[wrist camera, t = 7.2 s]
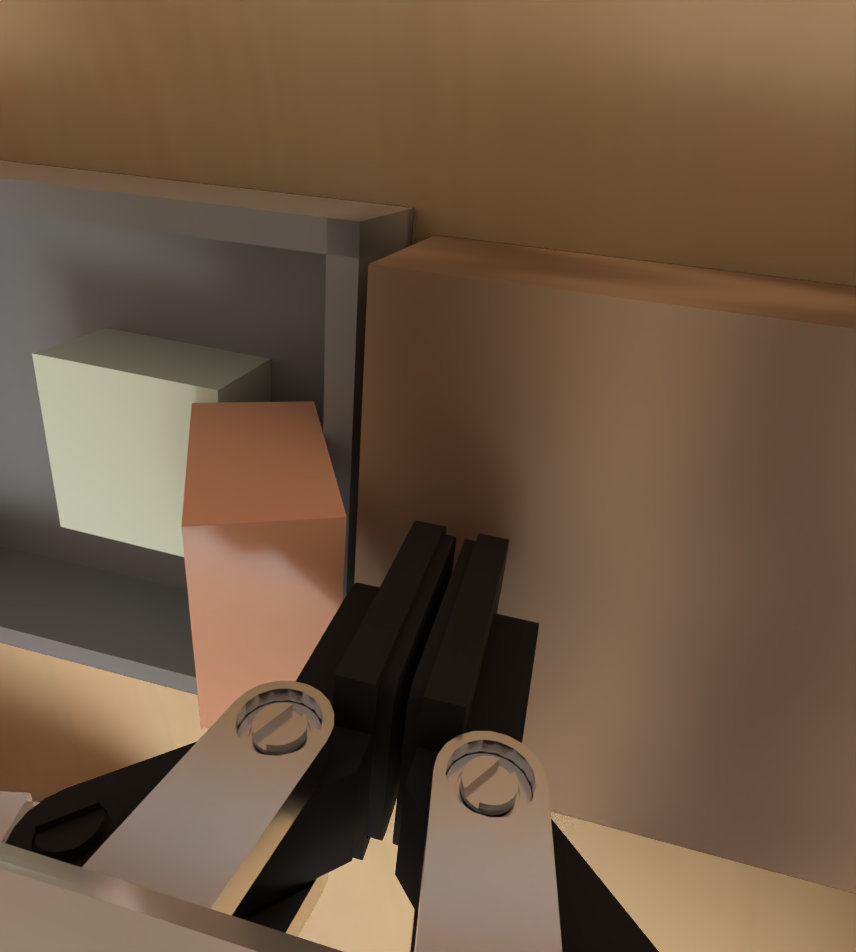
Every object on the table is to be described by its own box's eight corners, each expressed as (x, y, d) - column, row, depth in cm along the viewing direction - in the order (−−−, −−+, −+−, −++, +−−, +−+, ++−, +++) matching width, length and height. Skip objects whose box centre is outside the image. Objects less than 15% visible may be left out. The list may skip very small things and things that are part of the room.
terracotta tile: (346, 516, 11) (181, 527, 10) (336, 709, 13) (201, 728, 12) (314, 401, 14) (191, 402, 14) (310, 566, 17) (205, 574, 16)
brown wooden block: (1327, 344, 12) (1697, 440, 8) (1020, 778, 16) (1149, 973, 13) (434, 235, 14) (368, 263, 10) (400, 634, 19) (346, 756, 15)
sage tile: (31, 353, 15) (106, 327, 17) (60, 526, 17) (124, 484, 19) (217, 390, 14) (270, 358, 16) (224, 567, 16) (270, 518, 18)
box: (413, 208, 14) (360, 221, 11) (383, 643, 20) (340, 733, 17) (-123, 145, 17) (-287, 143, 14) (-20, 547, 22) (-121, 610, 19)
